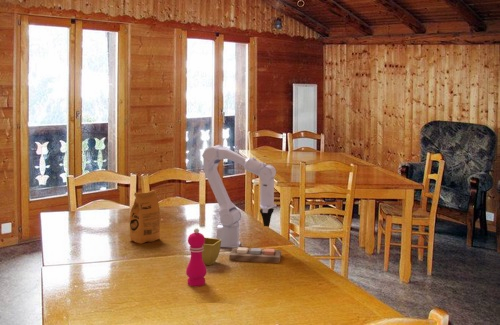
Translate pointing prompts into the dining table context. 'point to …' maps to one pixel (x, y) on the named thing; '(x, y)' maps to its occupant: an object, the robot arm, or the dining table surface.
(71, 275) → the dining table surface
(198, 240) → the pepper mill
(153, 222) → the coffee package
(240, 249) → the ivory key
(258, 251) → the slate key
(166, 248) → the dining table surface
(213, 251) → the flower pot
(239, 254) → the walnut bezel
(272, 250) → the brick key
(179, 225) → the dining table surface
